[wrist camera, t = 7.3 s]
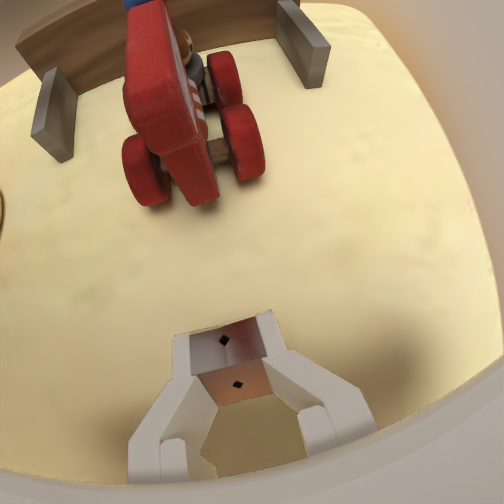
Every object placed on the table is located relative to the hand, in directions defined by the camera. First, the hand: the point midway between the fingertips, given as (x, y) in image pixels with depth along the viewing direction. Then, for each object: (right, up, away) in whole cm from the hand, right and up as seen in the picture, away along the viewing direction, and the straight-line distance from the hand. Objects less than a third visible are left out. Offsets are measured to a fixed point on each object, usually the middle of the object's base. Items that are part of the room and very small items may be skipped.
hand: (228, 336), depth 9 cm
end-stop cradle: (-5, +16, +10) cm, 20 cm away
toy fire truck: (-3, +10, +9) cm, 14 cm away
